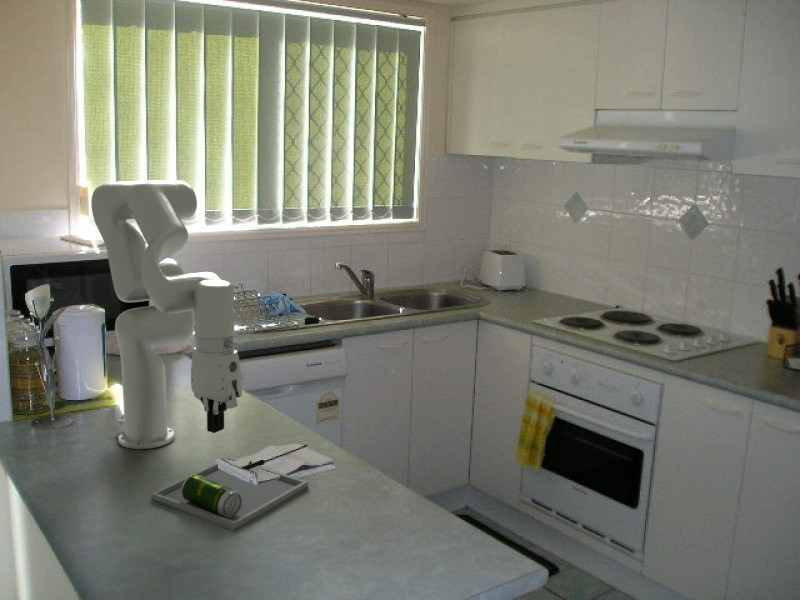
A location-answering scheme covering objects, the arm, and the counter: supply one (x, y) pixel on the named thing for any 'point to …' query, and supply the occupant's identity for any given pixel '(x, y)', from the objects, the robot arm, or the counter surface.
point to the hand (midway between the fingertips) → (215, 430)
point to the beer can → (211, 496)
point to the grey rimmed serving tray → (253, 496)
